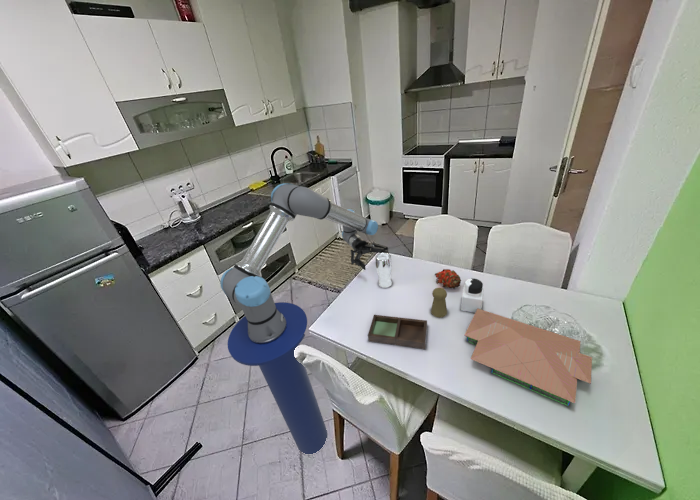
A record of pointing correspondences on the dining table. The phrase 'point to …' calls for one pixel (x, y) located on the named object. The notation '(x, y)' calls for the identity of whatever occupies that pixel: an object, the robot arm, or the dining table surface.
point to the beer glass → (384, 269)
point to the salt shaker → (439, 303)
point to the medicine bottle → (472, 295)
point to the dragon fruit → (448, 278)
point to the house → (529, 354)
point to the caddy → (398, 331)
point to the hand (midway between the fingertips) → (377, 262)
